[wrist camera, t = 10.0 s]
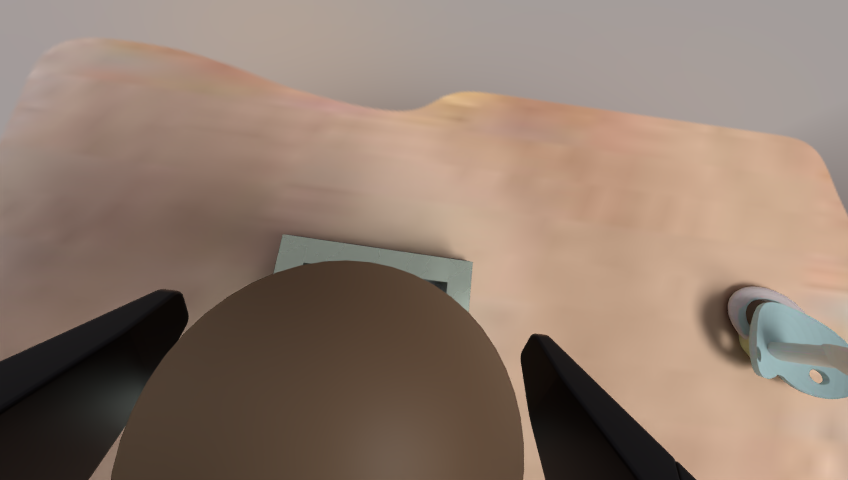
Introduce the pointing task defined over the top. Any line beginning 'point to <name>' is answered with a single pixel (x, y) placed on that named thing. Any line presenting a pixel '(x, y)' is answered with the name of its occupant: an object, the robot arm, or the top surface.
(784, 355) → the pacifier
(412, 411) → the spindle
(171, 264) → the top surface
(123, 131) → the top surface
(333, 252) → the green square tray
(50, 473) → the robot arm
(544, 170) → the top surface
